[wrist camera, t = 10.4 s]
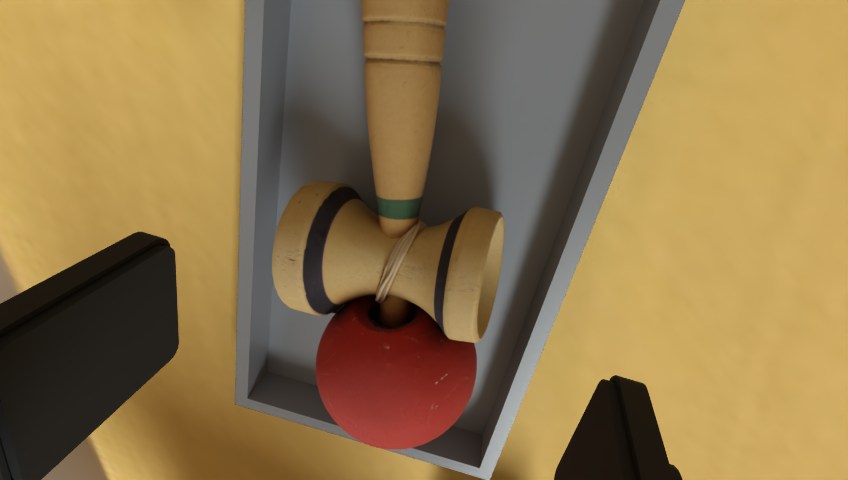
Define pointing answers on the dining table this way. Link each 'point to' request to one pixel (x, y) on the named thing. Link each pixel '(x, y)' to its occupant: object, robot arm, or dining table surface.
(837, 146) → the dining table surface
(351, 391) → the kendama
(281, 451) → the dining table surface
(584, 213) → the tray
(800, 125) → the dining table surface
